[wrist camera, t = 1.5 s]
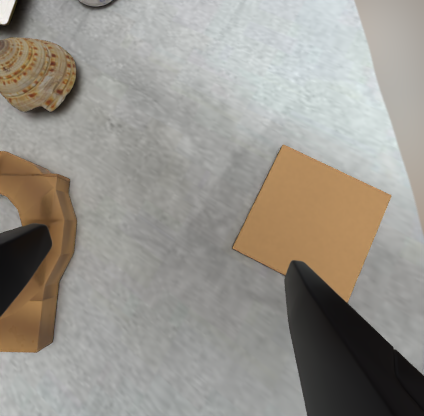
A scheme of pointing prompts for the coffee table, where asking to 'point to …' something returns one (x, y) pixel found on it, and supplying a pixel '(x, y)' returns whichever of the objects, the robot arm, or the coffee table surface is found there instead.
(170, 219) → the coffee table surface
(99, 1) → the beverage can
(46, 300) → the cup stand
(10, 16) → the plate
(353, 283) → the coaster
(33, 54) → the seashell
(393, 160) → the coffee table surface
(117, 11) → the coffee table surface
